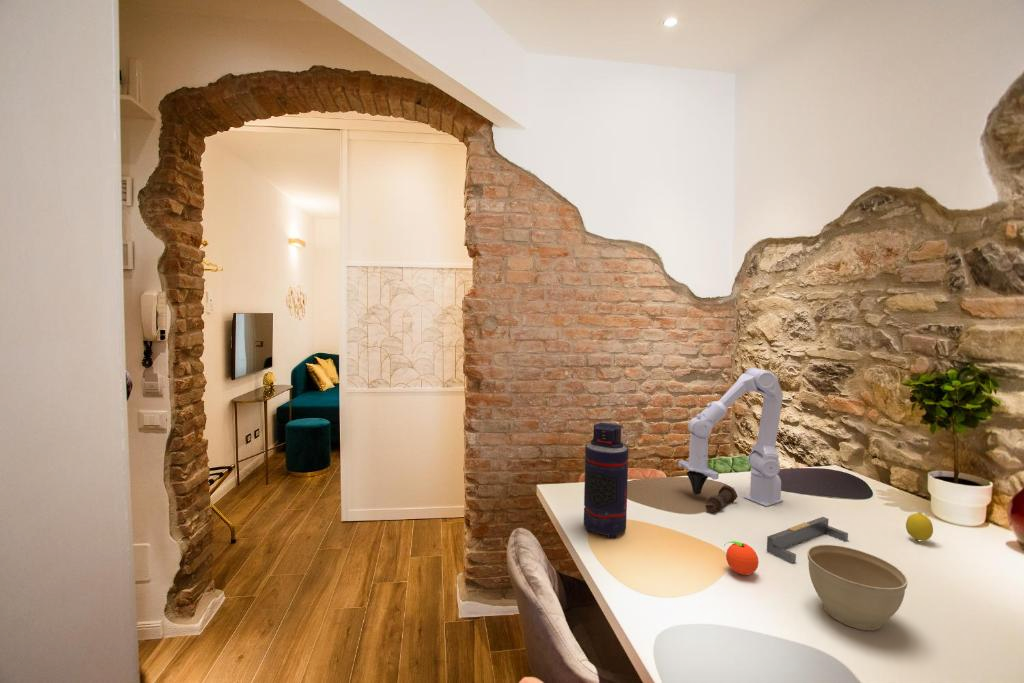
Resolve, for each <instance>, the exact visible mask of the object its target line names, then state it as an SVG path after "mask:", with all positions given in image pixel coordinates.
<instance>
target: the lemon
mask: <svg viewBox="0 0 1024 683" xmlns="http://www.w3.org/2000/svg"><path fill="white" fill-rule="evenodd" d="M933 527H934V526H933V523H932V521H931V519H929V517H927V516H926V515H924V514H923V513H921V512H917V513H913V514H910V515H909V516H908V517H907V519H906V522H905V529H906V532H907V534H908V535H909V536H910V537H912V538H913V539H915V540H916V539H917V540H922V541H928V540H929V539H930V538H931V537H932V536H933V533H934V528H933ZM917 540H916V541H917Z"/></svg>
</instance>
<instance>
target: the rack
mask: <svg viewBox="0 0 1024 683" xmlns="http://www.w3.org/2000/svg"><path fill="white" fill-rule="evenodd" d="M823 535H828V536H830V537H832V538H834V539H837V538H838V539H837V540H840V541H842V540H843V541H842V542H847V541H848V539H849V533H848V532H846V531H843V530H841V529H838V528H835V527H833V526H830V525H829V518H828V517H825V516H821V517H818V518H815V519H813V520H810V521H807V522H803V523H800V524H797V525H794V526H791V527H788V528H787V529H785V530H782V531H779V532H777V533H773V534H771V535H770V534H769V535H768V536H766V537H767V538H766V552H767V553H769V554H771V555H773V556H775V557H777V558H779V559H781V560H783V561H786V562H787V563H790V564H795V563H796V561H797V560H796V559H797V554H796V553H794V552H792V551H789V550H788V549H790V548H793V547H794V546H797V545H799V544H802V543H804V542H807V541H809V540H812V539H815V538H817V537H820V536H823ZM846 540H847V541H846Z"/></svg>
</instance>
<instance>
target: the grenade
mask: <svg viewBox="0 0 1024 683" xmlns="http://www.w3.org/2000/svg"><path fill="white" fill-rule="evenodd" d="M622 427H623V425H622V424H616V423H609V422H602V421H601V422H599V423H596V424H594V425H593V437H592V439H591V440H590V441H589V442H587V443H586V444H585V448H584V449H585V450H584V454H585V455H584V457H585V458H584V488H583V489H584V490H583V491H584V492H583V493H584V495H583V496H584V497H583V526H584V527H585V530H586V531H587V533H590V532H593V533H596V534H600V535H606V536H607V537H608V539H616V538H617V535H620V534H622V533H624V532H625V531H626V529H627V511H628V509H627V507H628V479H629V478H628V475H629V462H628V461H629V447H628V444H629V436H628V432H627V431H626V430H625V429H622ZM623 433H625V435H626V442H625V441H624V437H623Z"/></svg>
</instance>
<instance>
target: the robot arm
mask: <svg viewBox="0 0 1024 683" xmlns="http://www.w3.org/2000/svg"><path fill="white" fill-rule="evenodd" d="M749 392H750V393H751V392H758V393H759V394H760V395H761V396H762V397H763V400H762V406H761V413H760V414H761V415H760V419H759V420H760V421H759V427H758V432H757V440H756V443H755V444H754V445H752V449H751V452H750V453H749V454H748V458H747V462H748V464H749V466H750V467H751V470H750V485H749V486H750V487H749V488H750V489H749V490H750V491H749V494H747V495H744V496H743V498H745V499H747V500H748V501H752V502H754V503H757V504H760V505H762V506H765V507H768V506H771V505H775V504H778V503H781V502H784V499H782V494H781V493H782V480H781V477H780V476H779V473H780V471H781V464H780V462H779V458H780V457H779V456H780V455H779V452H778V451H777V448H776V446H777V445H776V444H777V437H778V431H779V426H780V425H779V424H780V418H781V412H782V411H781V410H782V404H783V399H784V393H783V391H782V387H781V386H780V383H779V377H778V376H777V375H776V374H774V372H773V371H770V370H766V369H765V370H764V369H761V368H759V367H750V368H748V369H747V370H745V372H744V373H742V374H740V375H739V378H738V379H737V381H735V383H734V384H733V385H732V386H731V387H730V388H729V389H728V390H727V391H726V392H725V393H724V394H723V396H722V397H721V398H720V399H719V400H717V401H715V400H714V401H711V402H707V404H706V407H705V408H704V409H703V410H702V411H700V413H697V414H696V416H695V417H692V418H691V419H690V420H689V422H688V424H687V429H688V431H689V445H688V446H689V447H688V448H689V451H688V461H687V460H683V459H681V460H679V461H678V467H679V468H684V469H687V472H686V476H687V477H688V479H689V482H690V485H691V488H692V493H693V495H694V494H695V496H696V495H697V496H698V495H700V494H701V493H702V491H703V486H704V484H705V483H706V481H707V479H708V478H711V479H712V480H718V479H719V477H720V476H719V472H717V471H716V470H715V471H714V470H713V469H711V468H710V467H708V458H709V457H708V456H709V455H708V454H709V451H708V450H709V436H710V435H711V434H712V431H713V427H715V426H716V425H717V424H718V423H719V422H720V421H721V420H722V419H723V418H724V417H725V416H726V415H727V412H728V408H729V407H730V406H731V405H732V404H734V403H735V402H736V401H737V400H738V399H739V398H741V397H742V396H743V395H745V393H749Z"/></svg>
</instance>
